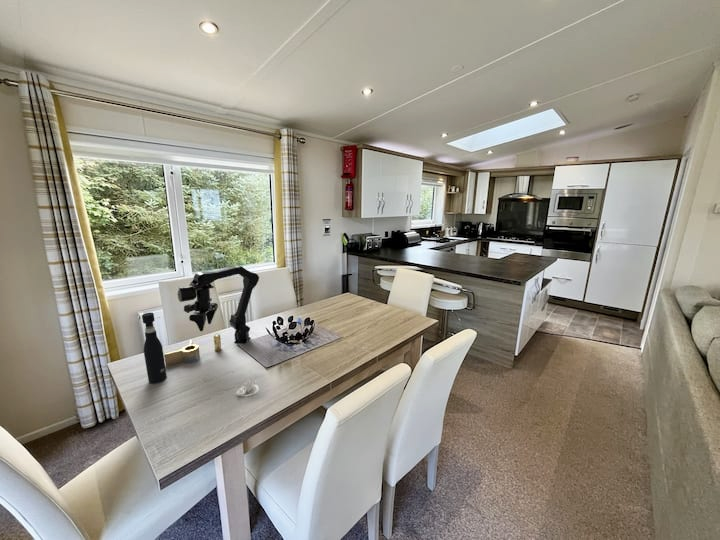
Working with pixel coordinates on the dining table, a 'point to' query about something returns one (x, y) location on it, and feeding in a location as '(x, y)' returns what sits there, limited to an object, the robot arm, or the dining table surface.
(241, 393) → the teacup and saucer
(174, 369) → the dining table surface
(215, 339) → the hinge pin
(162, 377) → the black water bottle
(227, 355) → the dining table surface
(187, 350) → the hinge
